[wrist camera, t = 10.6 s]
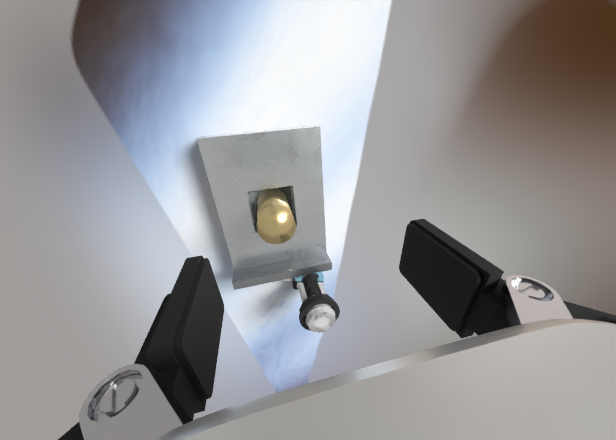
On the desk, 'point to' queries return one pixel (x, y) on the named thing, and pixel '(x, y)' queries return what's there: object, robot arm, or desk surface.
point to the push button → (315, 303)
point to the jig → (266, 175)
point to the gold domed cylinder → (274, 217)
